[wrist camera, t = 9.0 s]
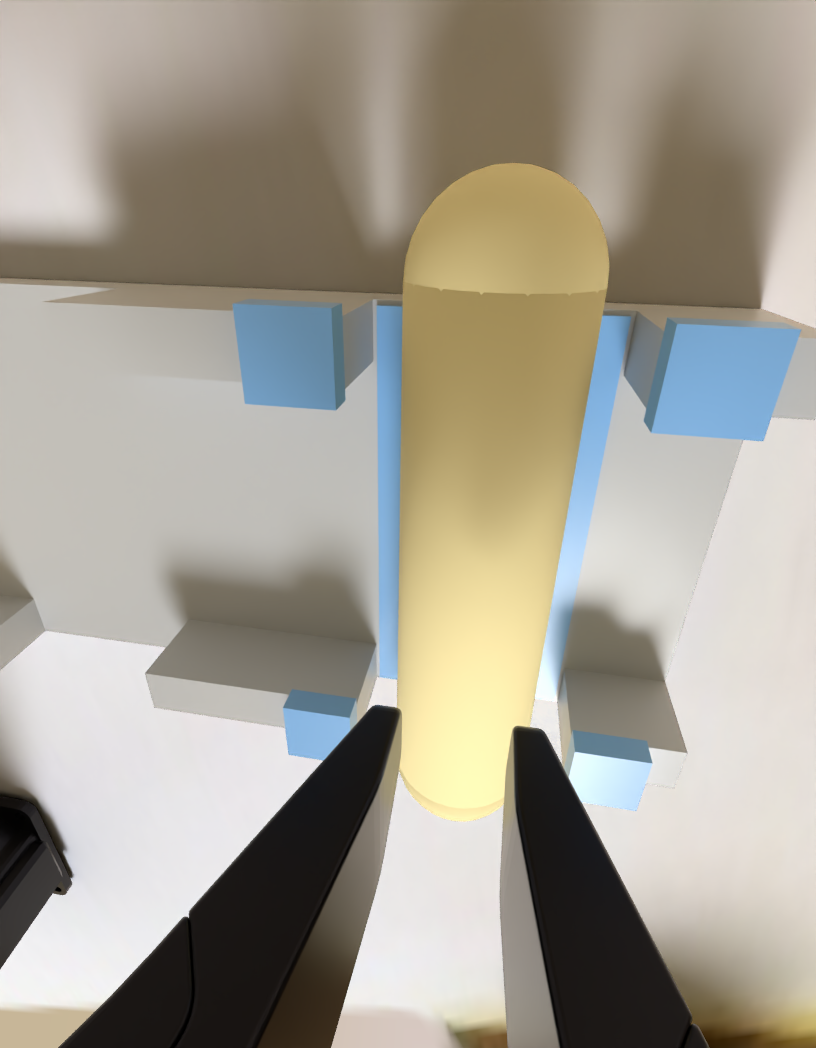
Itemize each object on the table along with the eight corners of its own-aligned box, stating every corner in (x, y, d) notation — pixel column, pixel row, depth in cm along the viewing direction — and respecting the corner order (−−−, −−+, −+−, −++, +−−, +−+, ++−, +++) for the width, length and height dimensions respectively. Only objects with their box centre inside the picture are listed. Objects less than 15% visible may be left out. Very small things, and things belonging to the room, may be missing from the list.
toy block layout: (15, 608, 19) (-94, 692, 15) (-122, 263, 14) (-328, 278, 10) (644, 692, 16) (678, 818, 12) (765, 298, 11) (874, 332, 7)
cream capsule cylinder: (513, 749, 16) (518, 858, 13) (404, 735, 17) (386, 839, 14) (607, 172, 9) (656, 153, 7) (418, 169, 10) (387, 150, 7)
